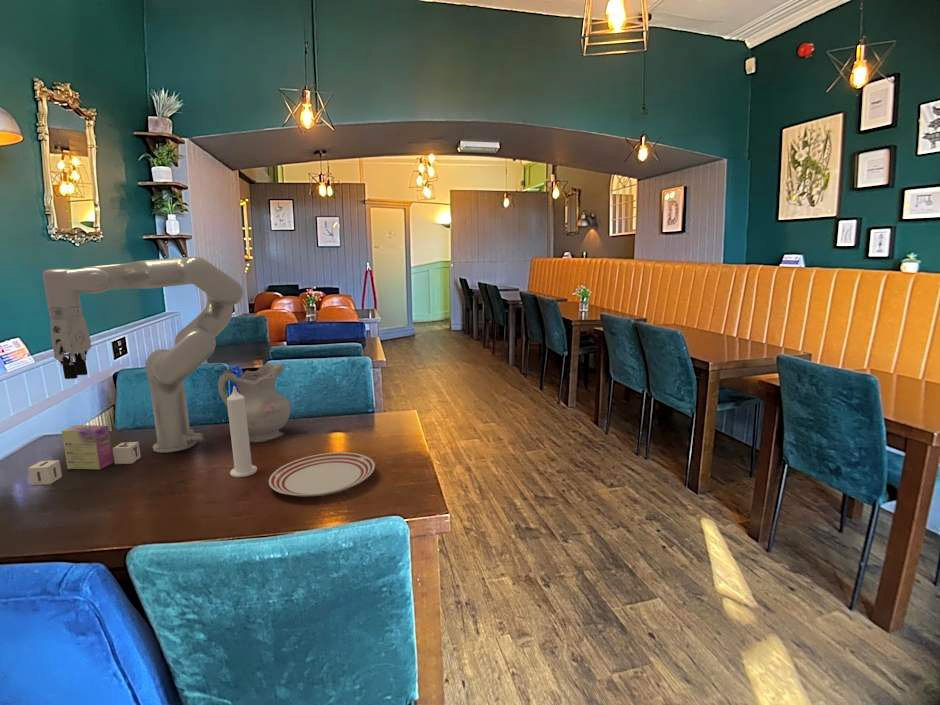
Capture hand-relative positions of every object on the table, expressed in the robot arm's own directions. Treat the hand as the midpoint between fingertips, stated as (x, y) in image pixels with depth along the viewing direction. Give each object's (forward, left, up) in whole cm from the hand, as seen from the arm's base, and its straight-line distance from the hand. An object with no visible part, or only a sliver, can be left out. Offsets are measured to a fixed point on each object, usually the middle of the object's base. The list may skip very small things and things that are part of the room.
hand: (76, 376), depth 159 cm
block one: (+6, +10, -27) cm, 30 cm away
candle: (-48, +11, -27) cm, 56 cm away
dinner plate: (-72, +20, -28) cm, 80 cm away
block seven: (-9, -3, -27) cm, 29 cm away
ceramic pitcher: (-43, -19, -27) cm, 54 cm away
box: (0, 0, -28) cm, 28 cm away
